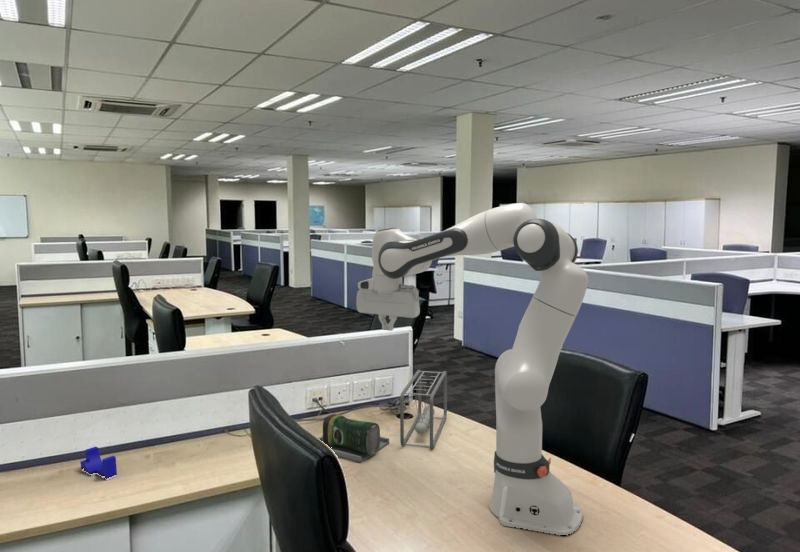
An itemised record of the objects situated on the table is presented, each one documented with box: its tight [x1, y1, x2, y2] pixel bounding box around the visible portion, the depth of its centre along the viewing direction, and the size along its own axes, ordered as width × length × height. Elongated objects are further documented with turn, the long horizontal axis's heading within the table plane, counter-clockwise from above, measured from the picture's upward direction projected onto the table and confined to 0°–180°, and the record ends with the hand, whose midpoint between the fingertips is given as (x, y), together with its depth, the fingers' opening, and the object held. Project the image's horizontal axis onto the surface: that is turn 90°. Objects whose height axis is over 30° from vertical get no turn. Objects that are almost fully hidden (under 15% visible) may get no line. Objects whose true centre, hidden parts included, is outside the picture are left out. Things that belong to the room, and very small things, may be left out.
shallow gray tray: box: [318, 435, 390, 464], centre depth 181 cm, size 20×16×2 cm
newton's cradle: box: [399, 369, 448, 450], centre depth 192 cm, size 30×10×18 cm, turn 167°
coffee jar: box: [322, 413, 381, 457], centre depth 178 cm, size 10×8×19 cm
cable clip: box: [80, 446, 118, 479], centre depth 164 cm, size 12×4×6 cm, turn 52°
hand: (387, 329), depth 169 cm, fingers closed
